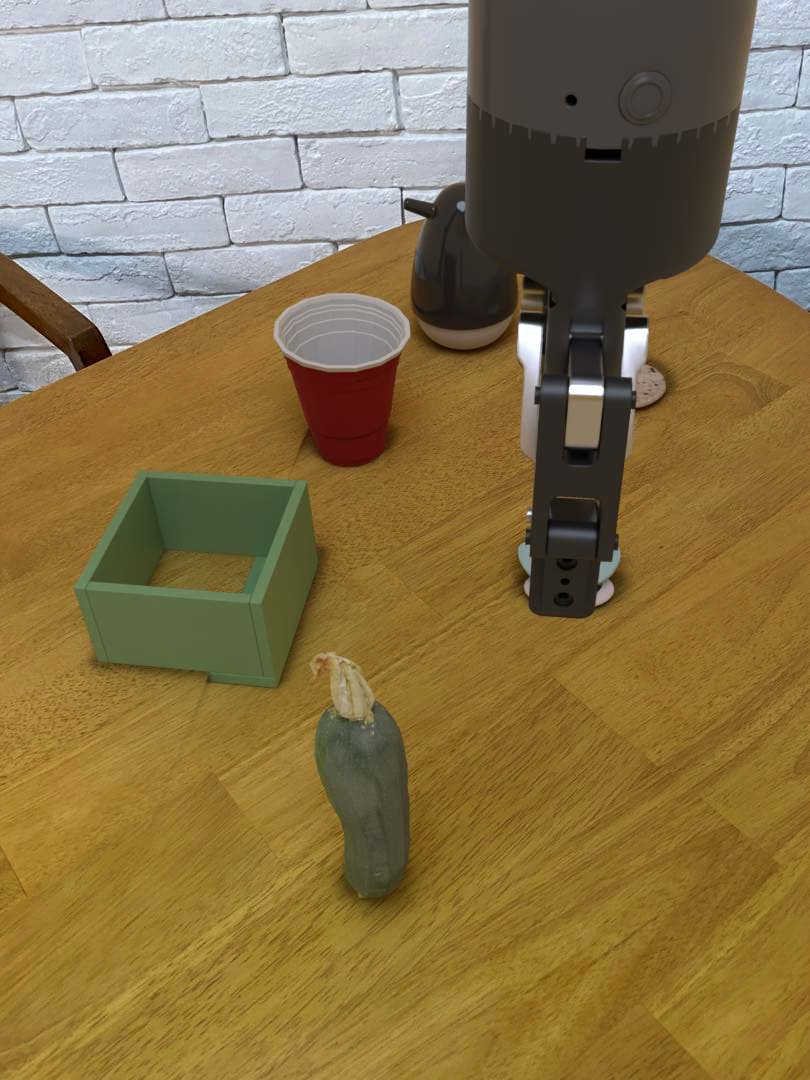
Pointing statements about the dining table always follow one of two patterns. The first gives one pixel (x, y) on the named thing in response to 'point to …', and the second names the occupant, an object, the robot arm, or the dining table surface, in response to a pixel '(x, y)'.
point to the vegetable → (364, 778)
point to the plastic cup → (344, 370)
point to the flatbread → (649, 386)
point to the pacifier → (604, 573)
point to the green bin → (195, 615)
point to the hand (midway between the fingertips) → (562, 530)
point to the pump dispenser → (457, 277)
